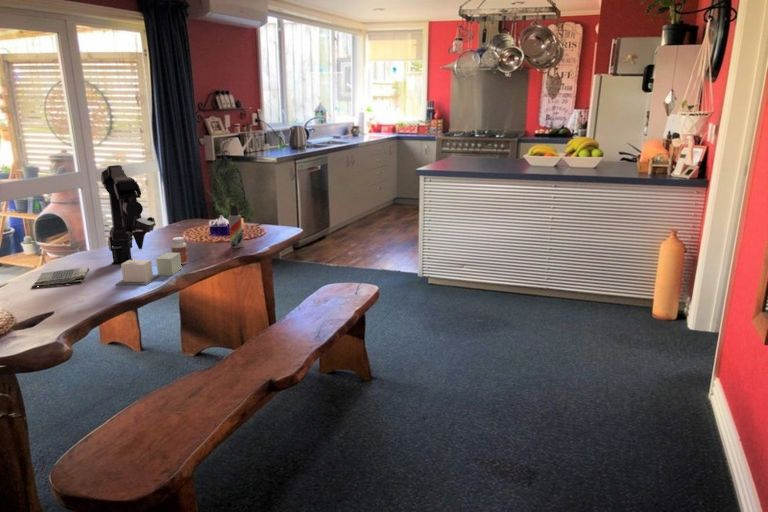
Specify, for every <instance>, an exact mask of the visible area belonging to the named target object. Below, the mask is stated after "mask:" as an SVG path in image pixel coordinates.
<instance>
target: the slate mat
mask: <svg viewBox="0 0 768 512" xmlns="http://www.w3.org/2000/svg"><path fill="white" fill-rule="evenodd" d="M160 276H161V275H158V274H153V278H151V279H150V280H148V281H147V282H123V279H122V280H120V281H117V283H115V286H148V285H149V284H150V283H152V282H153V281H155V280H156V279H158V278H159V277H160Z"/></svg>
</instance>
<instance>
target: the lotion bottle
mask: <svg viewBox="0 0 768 512" xmlns="http://www.w3.org/2000/svg"><path fill="white" fill-rule="evenodd" d="M239 213H240V212H239V206H238V205H230V206H229V215H228V225H229V226H228V227H229V239H230V246H231V248H233V249H239V248H242V247H243V246H244V237H243V226H242V225H243V223H242V216H241V214H239Z"/></svg>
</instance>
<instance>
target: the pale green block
mask: <svg viewBox="0 0 768 512" xmlns="http://www.w3.org/2000/svg"><path fill="white" fill-rule="evenodd" d="M182 265H183V264H182ZM182 265H181V256H180V253H172V252H165V253H163V254H161V255H160V256H158V257H156V267H157V275H160V276H170V277H171V276H172V275H173V276H174V275H176V274H178V273H179V272H180V271H181V270H182V269H183V267H182ZM180 269H181V270H180ZM179 270H180V271H179ZM175 273H176V274H175Z"/></svg>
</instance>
